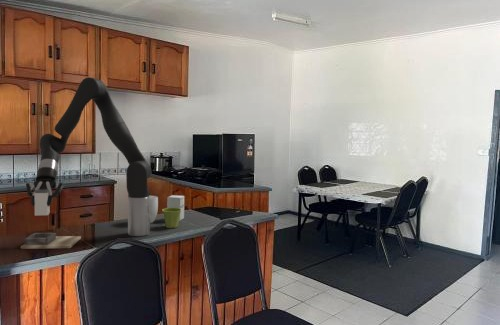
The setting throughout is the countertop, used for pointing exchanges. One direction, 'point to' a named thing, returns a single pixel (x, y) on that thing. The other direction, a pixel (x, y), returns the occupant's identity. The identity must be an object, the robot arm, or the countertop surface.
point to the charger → (41, 202)
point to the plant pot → (171, 217)
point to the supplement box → (176, 204)
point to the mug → (153, 207)
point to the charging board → (49, 241)
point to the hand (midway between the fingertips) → (41, 205)
